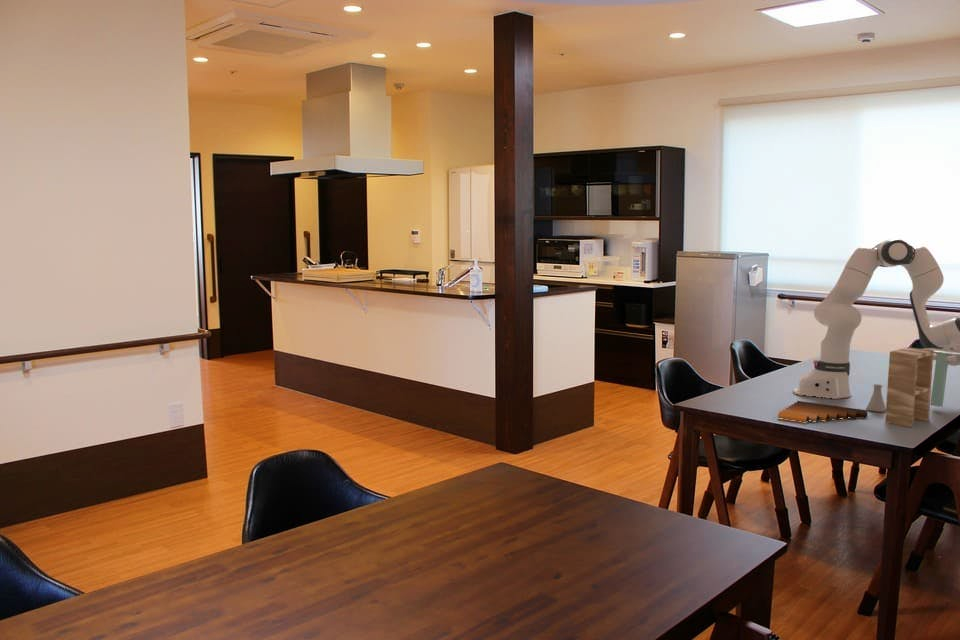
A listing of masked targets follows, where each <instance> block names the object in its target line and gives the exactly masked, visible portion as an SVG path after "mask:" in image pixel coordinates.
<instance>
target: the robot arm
mask: <svg viewBox="0 0 960 640" xmlns="http://www.w3.org/2000/svg"><path fill="white" fill-rule="evenodd" d="M897 266H902V267H903V268H904V269H905V270H906V271H907V273H908V275H909V278H910V280H911V283H912V289H911V290H910V292H909V301H910V305H911V308H912V313H913V316H914V321H915V323H916V326H917V332H918V339H919V342H920V344H921V346H922V347H923V349H926V350H934V353H933V361H936V357H937V354H945V355H949V356H946V357H945V361H948V366H952V367H956V366H960V317H954V318H951V319H947V320H944V321H942V322H939V323H936V324H933V325H932V324H931V322H930V319H929V315H928V312H927V307H926V304H927V302H928V300H929V299H930V298H931V297H932V296H933V295H935V293H937V291H939V290H940V289H941V288H942V286H943V284H944V281H945V277H944V275H943V271H942V270H941V268H940V266H939V263H938V262H937V260H936V258H935V257H934V256H933V254H932V253H931V251H930V250H929V249H928V248H927V247H926V246H923V245H922V246H921V245H917V246H912V245H911V244H909V243H908V242H906V241H904V240H902V239H901V238H892V239H888V240H887V239H886V240H884V241H882V242H880V243H878V244H877V245H875V246H874V247H870V246H869V247H868V246H859V247H857V248H856V249H855V250H854V251H853V253H852V254H851V256H850V257H849V259H848V260H847V262H846V264H845V266H844V267H843V270H842V272H841V274H840V275H839V278H838V280H837V282H836V283H835V284H834V287H833V288H832V289H831V291H830V292H829V293H828V294H827V296H826V297H825V298H824V299H823V300H822V301H820V302H819V303H818V304H817V305H816V306H815V308H814V311H813V315H814V319H815V320H816V321H817V322H818V323H820V324H821V325H822V326H825V327H827V329H826V334H825V337H824V338H823V339H822V340H821V342H820V353H819V354H820V355H819V360H818V359H814V360H813V365H814V366H813V367H814V369H812V370H810V371H809V372H807V373H806V374H804V375H802V376H801V378H800V380H799V383H798V386H796V387H793V390H792V391H793V394H795V395H797V394H798V396H803V395H806V396H805V397H812V396H816V397H815V398H821V397H823V398H824V397H825V398H824V399H830V398H832V399H833V400H838V399H842V398H843V399H846V398H850V397H852V394H851V387H850V380H849V378H850V377H849V376H850V373H851V371H850V370H851V362H850V353H851V352H850V348H851V344H852V343H851V342H852V339H853V335H854V333H855V331H856V329H858V328H859V326H860V325H861V322H862V319H863V317H862V314H861V311H859V309H858V308H856V307H855V306H853V305H854V303H856V301H857V300H858V299H860V298H861V297H862V296H863V295H864V294H865V292H866V290H867V288H868V286H869V283H870V281H871V279H872V277H873V275H874V272H875V271H876V270H877V269H878V267H881V268H889V267H890V268H893V267H894V268H895V267H897ZM823 398H822V399H823Z"/></svg>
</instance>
